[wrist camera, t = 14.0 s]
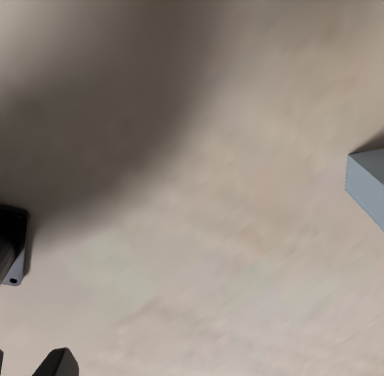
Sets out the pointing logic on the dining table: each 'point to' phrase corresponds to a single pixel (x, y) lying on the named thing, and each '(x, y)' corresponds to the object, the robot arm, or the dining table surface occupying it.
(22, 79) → the dining table surface
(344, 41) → the dining table surface
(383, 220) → the tall board
